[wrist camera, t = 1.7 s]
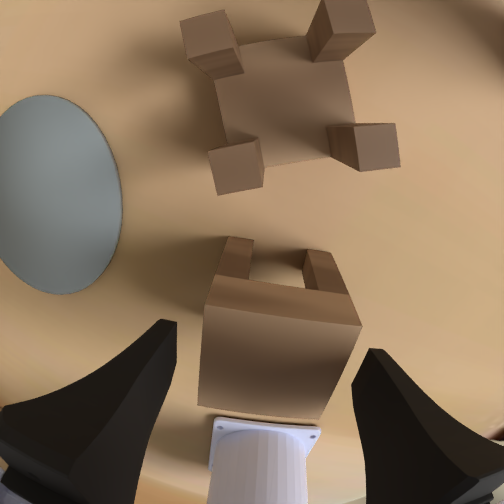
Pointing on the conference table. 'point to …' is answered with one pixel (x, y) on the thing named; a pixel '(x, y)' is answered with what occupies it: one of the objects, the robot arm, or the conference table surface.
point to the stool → (275, 337)
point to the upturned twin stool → (288, 96)
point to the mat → (57, 195)
